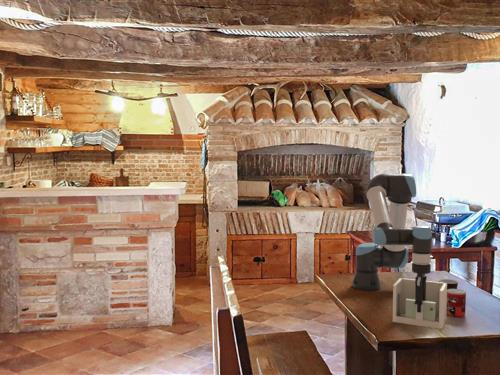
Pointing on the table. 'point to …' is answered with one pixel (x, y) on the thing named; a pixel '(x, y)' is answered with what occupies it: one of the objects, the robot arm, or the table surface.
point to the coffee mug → (450, 283)
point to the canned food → (456, 303)
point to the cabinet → (407, 291)
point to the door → (428, 310)
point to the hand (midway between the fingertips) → (420, 317)
